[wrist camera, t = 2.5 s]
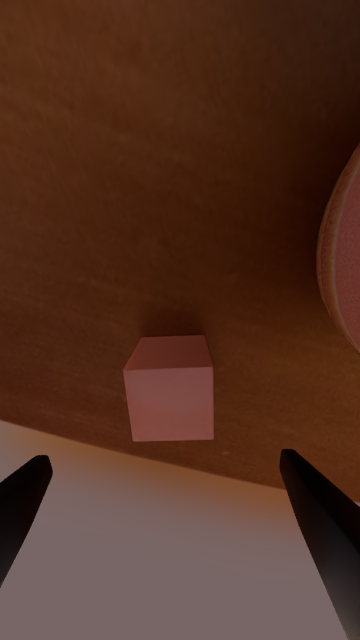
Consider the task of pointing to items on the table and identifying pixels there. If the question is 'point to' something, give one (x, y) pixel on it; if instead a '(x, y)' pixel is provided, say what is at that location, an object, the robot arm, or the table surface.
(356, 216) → the vase
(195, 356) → the red block
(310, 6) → the table surface
